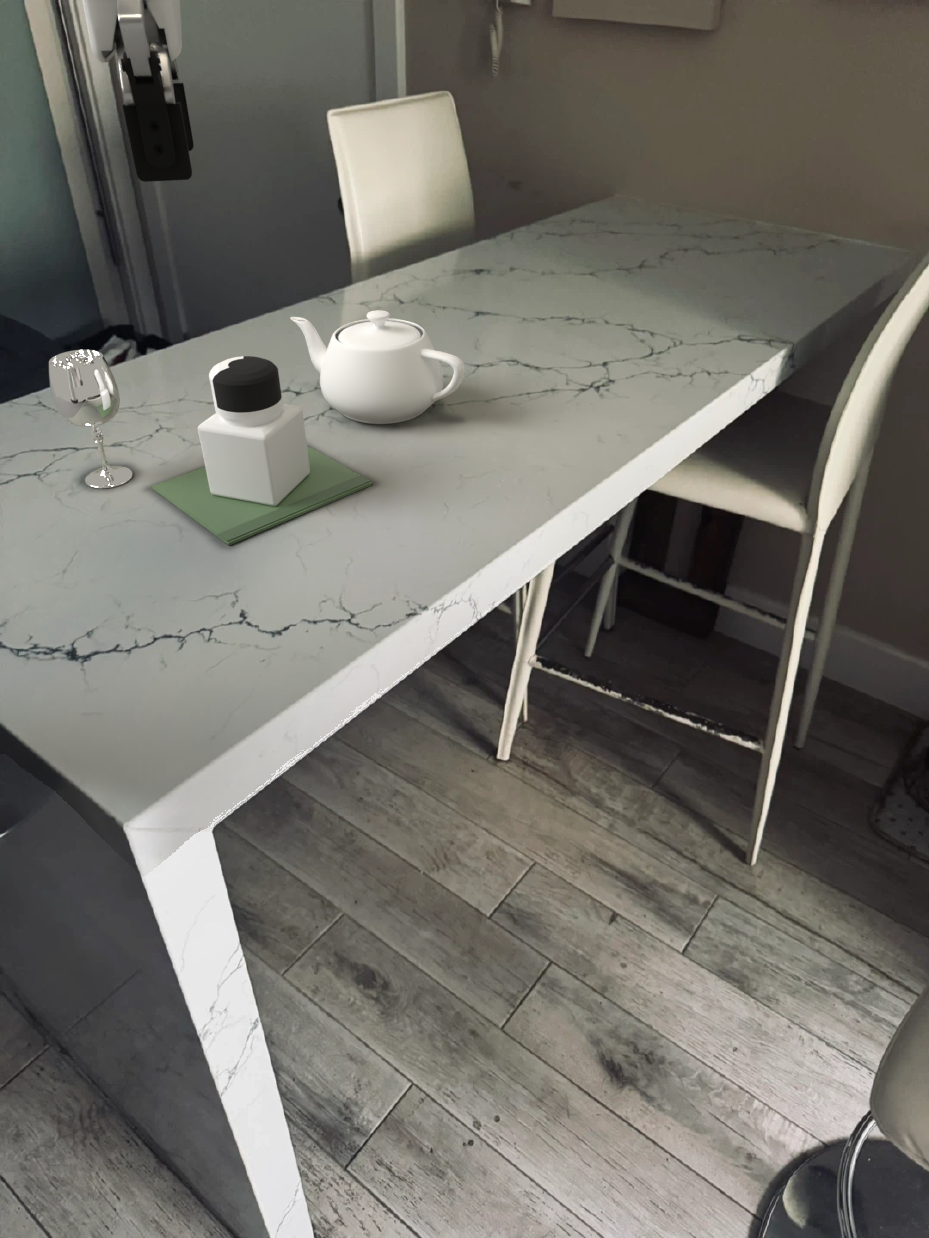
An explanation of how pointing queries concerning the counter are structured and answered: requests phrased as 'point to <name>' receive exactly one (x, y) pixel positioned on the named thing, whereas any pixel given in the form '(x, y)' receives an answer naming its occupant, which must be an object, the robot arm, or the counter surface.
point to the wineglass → (88, 404)
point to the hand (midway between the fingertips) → (168, 164)
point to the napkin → (249, 518)
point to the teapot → (380, 368)
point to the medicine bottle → (252, 434)
